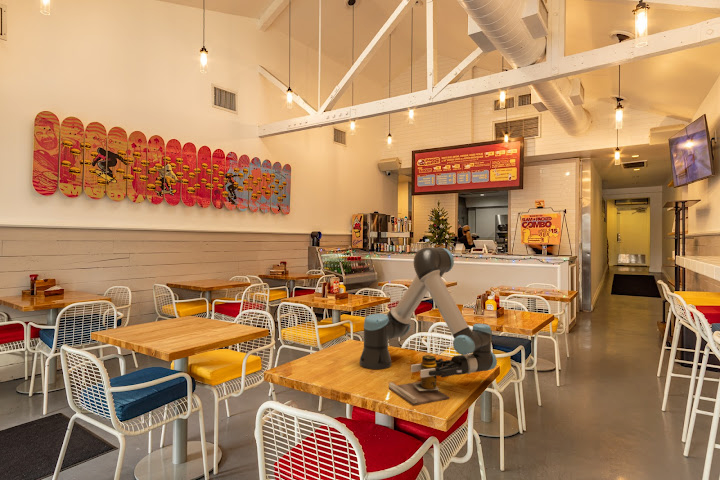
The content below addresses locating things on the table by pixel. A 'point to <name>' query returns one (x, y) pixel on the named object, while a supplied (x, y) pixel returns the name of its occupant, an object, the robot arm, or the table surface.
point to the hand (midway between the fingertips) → (416, 371)
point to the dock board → (417, 393)
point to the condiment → (427, 382)
